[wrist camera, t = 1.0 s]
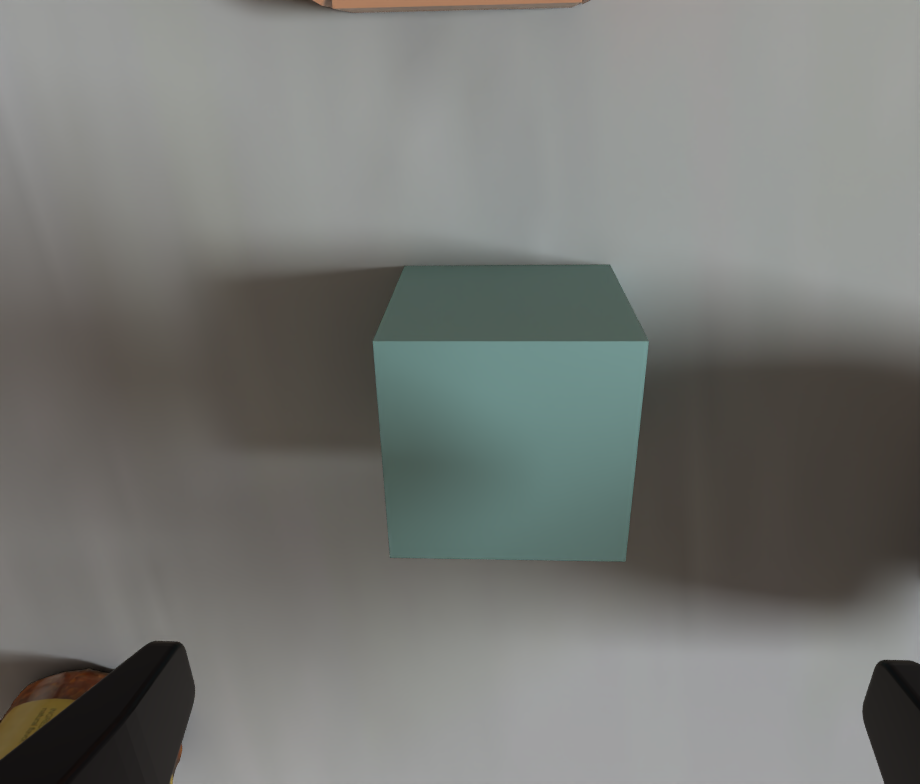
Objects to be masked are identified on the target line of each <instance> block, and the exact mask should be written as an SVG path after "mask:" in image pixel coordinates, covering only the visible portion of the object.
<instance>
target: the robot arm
mask: <svg viewBox="0 0 920 784" xmlns="http://www.w3.org/2000/svg"><path fill="white" fill-rule="evenodd" d="M194 697H195V684H194V680H193V676H192V672H191V668H190V665H189V661H188V657H187V653H186V650H185V647H184V646H183V644H182V643H180V642H174V641H153V642H150V643H148V644H146V645H145V646H144V647H142V648H141V649H140V650H139V651H137V652H136V653H135V654H133V655H132V656H131V657H130V658H128V659H127V660H126V661H125V662H123V663H122V664H121V665H120V666H118V667H117V668H116V669H114V670H113V671H112V672H111V673H109V674H108V675H107V676H106V677H104V678H103V679H102V680H101V681H99V682H98V683H97V684H95V685H94V686H93V687H92V688H90V689H89V690H88V691H87V692H85V693H84V694H83V695H82V696H80V697H79V698H78V699H76V700H75V701H74V702H73V703H71V704H70V705H69V706H68V707H66V708H65V709H64V710H63V711H61V712H60V713H59V714H57V715H56V716H55V717H54V718H52V719H51V720H50V721H49V722H47V723H46V724H45V725H44V726H42V727H41V728H40V729H38V730H37V731H36V732H35V733H33V734H32V735H31V736H30V737H28V738H27V739H26V740H24V741H23V742H22V743H21V744H19V745H18V746H17V747H16V748H14V749H13V750H12V751H11V752H9V753H8V754H7V755H5V756H4V757H3V758H2V759H0V784H170V780H171V777H172V774H173V770H174V767H175V764H176V760H177V757H178V753H179V750H180V747H181V743H182V740H183V737H184V733H185V730H186V727H187V723H188V720H189V717H190V713H191V710H192V706H193V703H194ZM862 712H863V720H864V724H865V728H866V731H867V734H868V736H869V739H870V742H871V745H872V748H873V751H874V754H875V757H876V760H877V763H878V766H879V769H880V772H881V775H882V778H883V781H884V784H920V664H918V663H916V662H914V661H909V660H882V661H880V662H879V663H878V664H876V666H875V669H874V672H873V675H872V678H871V681H870V684H869V687H868V690H867V693H866V696H865V699H864V702H863V710H862Z"/></svg>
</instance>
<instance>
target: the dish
mask: <svg viewBox="0 0 920 784" xmlns="http://www.w3.org/2000/svg"><path fill="white" fill-rule="evenodd" d="M313 1H315V2H316V3H318V4H320V5H322V6H326V7H331V8H333V9H337V10H342V11H346V12H351V13H369V12H409V11H450V10H490V9H531V8H572V7H574V6H576V5H578V4H580V3H582V4H583V3H586V2H588V1H590V0H313Z"/></svg>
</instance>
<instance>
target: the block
mask: <svg viewBox="0 0 920 784" xmlns="http://www.w3.org/2000/svg"><path fill="white" fill-rule="evenodd" d="M648 344H649V341H648V339H647V337H646V335H645V333H644V331H643V329H642V327H641V325H640V323H639V321H638V319H637V317H636V315H635V313H634V311H633V309H632V307H631V305H630V303H629V301H628V299H627V297H626V295H625V293H624V291H623V289H622V287H621V285H620V283H619V281H618V279H617V278H616V276H615V274H614V272H613V270H612V268H611V266H610V265H483V266H404V269H403V271H402V274H401V276H400V278H399V281H398V283H397V285H396V288H395V290H394V292H393V295H392V297H391V299H390V302H389V304H388V306H387V309H386V311H385V314H384V316H383V318H382V321H381V323H380V325H379V328H378V330H377V332H376V335H375V337H374V339H373V352H374V364H375V377H376V389H377V402H378V414H379V427H380V439H381V452H382V464H383V477H384V489H385V501H386V514H387V526H388V539H389V551H390V558H435V559H496V560H556V561H617V562H626V552H627V543H628V533H629V524H630V514H631V505H632V496H633V486H634V477H635V467H636V458H637V448H638V439H639V429H640V420H641V410H642V401H643V391H644V382H645V373H646V363H647V354H648Z"/></svg>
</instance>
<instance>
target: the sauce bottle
mask: <svg viewBox="0 0 920 784" xmlns="http://www.w3.org/2000/svg"><path fill="white" fill-rule="evenodd" d="M108 674H109V673H106V672H101V671H96V670H92V669H90V668H88V669H85V670H74V671H66V672H63V673H59V674H56V675H52V676H48V677H46V678H44V679H39V680H37V681H36V682H33V683H31V684H29V685H28V686H27V687H26V688H25V689H24V690H23V691H22V692H21V693H20V694H19V695H18V697H17V698H16V699H15V700H14V702H13V703H12V705H11V707H10V709H9V710H8V711H7V712H6V714H5V715H4V717H3V718H2V720H0V759H2V758H3V757H4V756H5V755H7V754H8V753H9V752H11V751H12V750H13V749H14V748H16V747H17V746H18V745H19V744H21V743H22V742H23V741H24V740H26V739H27V738H28V737H30V736H31V735H32V734H33V733H35V732H36V731H37V730H38V729H40V728H41V727H42V726H44V725H45V724H46V723H47V722H49V721H50V720H51V719H52V718H54V717H55V716H56V715H57V714H59V713H60V712H61V711H63V710H64V709H65V708H66V707H68V706H69V705H70V704H71V703H73V702H74V701H75V700H76V699H78V698H79V697H80V696H82V695H83V694H84V693H85V692H87V691H88V690H89V689H90V688H92V687H93V686H94V685H95V684H97V683H98V682H99V681H101V680H102V679H103V678H104V677H106V676H107V675H108ZM181 753H182V744H181V747H180V750H179V753H178V757H177V760H176V764H175V767H174V770H173V774H172V777H171V780H170V784H172V782H173V777H174V773H175V769H176V767H177V764H178V763H179V761H180V757H181Z"/></svg>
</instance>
